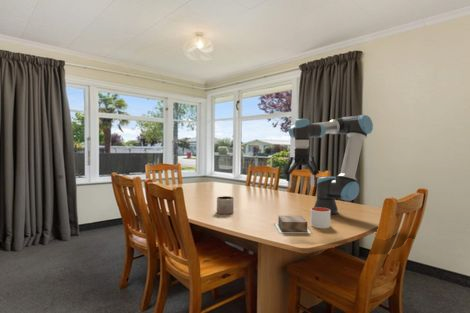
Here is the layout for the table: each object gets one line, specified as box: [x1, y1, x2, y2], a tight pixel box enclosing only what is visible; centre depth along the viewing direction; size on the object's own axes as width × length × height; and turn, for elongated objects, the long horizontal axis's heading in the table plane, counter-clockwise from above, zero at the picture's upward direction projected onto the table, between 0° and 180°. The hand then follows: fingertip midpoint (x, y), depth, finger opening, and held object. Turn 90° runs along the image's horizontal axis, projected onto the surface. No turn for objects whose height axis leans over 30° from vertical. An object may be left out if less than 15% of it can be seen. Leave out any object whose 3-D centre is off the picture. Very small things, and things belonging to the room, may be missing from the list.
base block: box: [277, 215, 308, 232], centre depth 138 cm, size 12×12×5 cm
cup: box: [309, 206, 331, 229], centre depth 144 cm, size 10×10×10 cm
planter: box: [216, 195, 235, 215], centre depth 176 cm, size 11×11×10 cm
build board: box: [273, 223, 313, 235], centre depth 138 cm, size 16×16×2 cm
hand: (300, 186), depth 149 cm, fingers open, 13 cm apart
